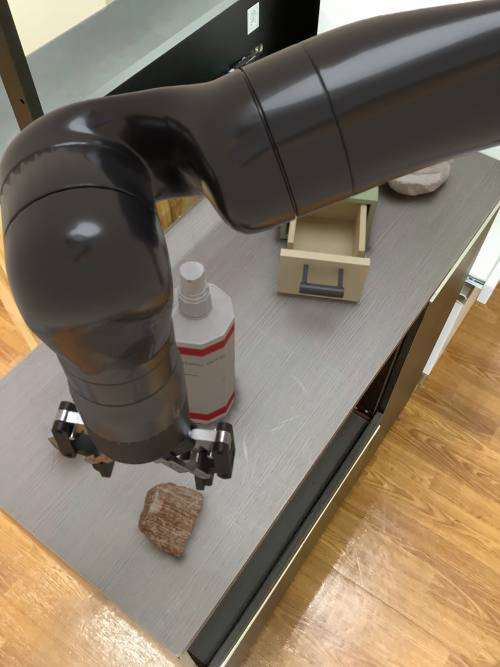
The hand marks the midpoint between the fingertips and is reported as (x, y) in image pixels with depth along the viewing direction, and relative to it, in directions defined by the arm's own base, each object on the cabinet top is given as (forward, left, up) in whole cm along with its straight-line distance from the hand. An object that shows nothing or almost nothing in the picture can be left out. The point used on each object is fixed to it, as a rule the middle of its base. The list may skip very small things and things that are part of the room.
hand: (155, 473), depth 56 cm
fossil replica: (-27, -58, -15) cm, 66 cm away
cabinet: (-14, -51, -15) cm, 55 cm away
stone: (0, 0, -15) cm, 15 cm away
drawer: (-14, -38, -14) cm, 43 cm away
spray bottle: (-1, -16, -15) cm, 22 cm away
